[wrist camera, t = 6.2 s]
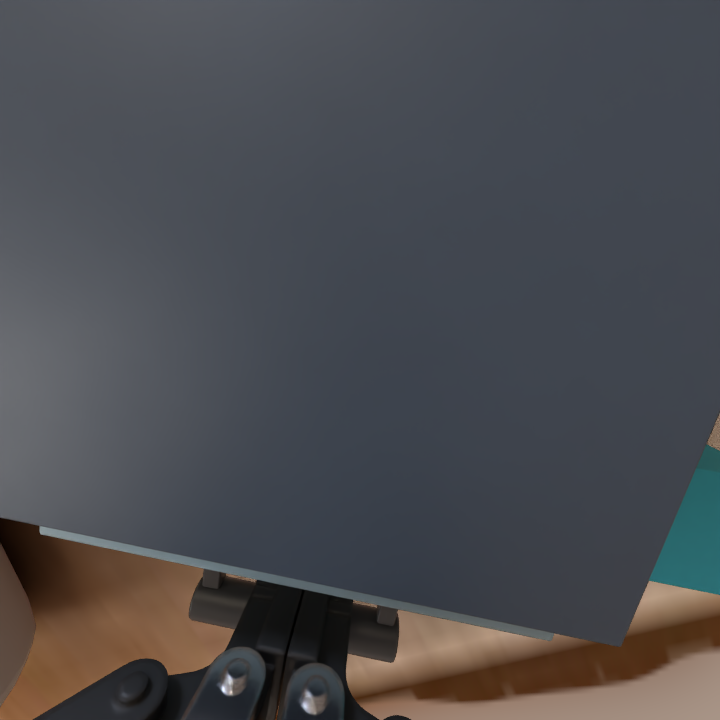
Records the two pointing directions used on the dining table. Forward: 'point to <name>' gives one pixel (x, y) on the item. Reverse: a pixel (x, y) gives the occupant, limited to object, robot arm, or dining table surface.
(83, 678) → the dining table surface
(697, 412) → the cabinet
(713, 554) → the teal cube block
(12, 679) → the grey rounded piece
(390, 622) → the drawer
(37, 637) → the dining table surface
